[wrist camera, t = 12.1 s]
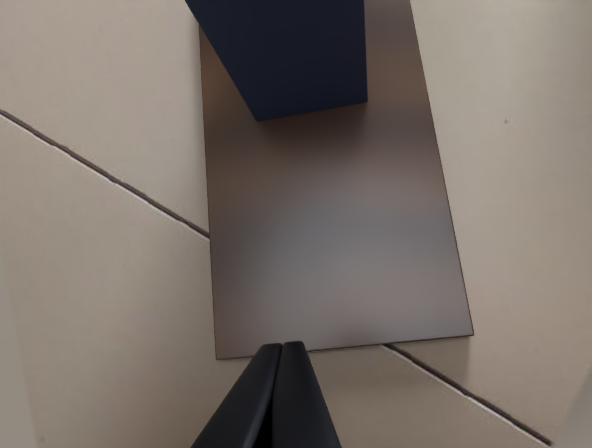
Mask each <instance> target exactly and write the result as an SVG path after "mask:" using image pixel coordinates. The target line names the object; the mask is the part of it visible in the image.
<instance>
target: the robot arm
mask: <svg viewBox="0 0 592 448" xmlns="http://www.w3.org/2000/svg"><path fill="white" fill-rule="evenodd" d="M191 448H341V445H340V442H339V439H338V436H337V434H336V431H335V428H334V425H333V423H332V420H331V417H330V414H329V411H328V409H327V406H326V403H325V400H324V398H323V395H322V392H321V389H320V386H319V384H318V381H317V378H316V375H315V373H314V370H313V367H312V364H311V362H310V359H309V356H308V353H307V350H306V348H305V345H304V343H303V341H290V342H285V343H284V344H282V343H270V344H264V345H262V346H261V347H260V348H259V350H258V351H257V353H256V354H255V355H254V357H253V358H252V360H251V361H250V363H249V364H248V365H247V367H246V368H245V370H244V371H243V373H242V374H241V376H240V377H239V378H238V380H237V381H236V383H235V384H234V386H233V387H232V389H231V390H230V391H229V393H228V394H227V396H226V397H225V399H224V400H223V401H222V403H221V404H220V406H219V407H218V409H217V410H216V412H215V413H214V414H213V416H212V417H211V419H210V420H209V422H208V423H207V425H206V426H205V427H204V429H203V430H202V432H201V433H200V435H199V436H198V437H197V439H196V440H195V442H194V443H193V445H192V446H191Z"/></svg>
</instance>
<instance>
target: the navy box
mask: <svg viewBox="0 0 592 448" xmlns="http://www.w3.org/2000/svg"><path fill="white" fill-rule="evenodd" d="M185 2H186V3H187V5H188V7H189V8H190V10H191V12H192V13H193V15H194V17H195V18H196V20H197V22H198V23H199V25H200V27H201V29H202V30H203V32H204V34H205V35H206V37H207V39H208V40H209V42H210V44H211V45H212V47H213V49H214V51H215V52H216V54H217V56H218V57H219V59H220V61H221V62H222V64H223V66H224V67H225V69H226V71H227V72H228V74H229V76H230V78H231V79H232V81H233V83H234V84H235V86H236V88H237V89H238V91H239V93H240V94H241V96H242V98H243V100H244V101H245V103H246V105H247V106H248V108H249V110H250V111H251V113H252V115H253V116H254V118H255V120H256V121H263V120H268V119H274V118H280V117H285V116H291V115H296V114H302V113H307V112H313V111H319V110H324V109H330V108H335V107H341V106H347V105H352V104H358V103H363V102H368V85H367V57H366V28H365V0H185Z"/></svg>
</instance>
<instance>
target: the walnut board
mask: <svg viewBox="0 0 592 448" xmlns="http://www.w3.org/2000/svg"><path fill="white" fill-rule="evenodd" d="M365 28H366V57H367V85H368V102H363V103H358V104H352V105H347V106H341V107H335V108H330V109H324V110H319V111H313V112H307V113H302V114H296V115H291V116H285V117H280V118H274V119H268V120H263V121H256V120H255V118H254V116H253V115H252V113H251V111H250V110H249V108H248V106H247V105H246V103H245V101H244V100H243V98H242V96H241V94H240V93H239V91H238V89H237V88H236V86H235V84H234V83H233V81H232V79H231V78H230V76H229V74H228V72H227V71H226V69H225V67H224V66H223V64H222V62H221V61H220V59H219V57H218V56H217V54H216V52H215V51H214V49H213V47H212V45H211V44H210V42H209V40H208V39H207V37H206V35H205V34H204V32H203V30H202V29H201V27H200V25H199V42H200V61H201V81H202V100H203V119H204V139H205V158H206V177H207V197H208V216H209V236H210V255H211V274H212V294H213V313H214V333H215V352H216V360H223V359H233V358H244V357H254V355H255V354H256V353H257V351H258V350H259V348H260V347H261V346H262V345H264V344H270V343H282V344H284V343H285V342H290V341H303V343H304V345H305V348H306V350H307V351H318V350H328V349H339V348H350V347H360V346H371V345H381V344H392V343H402V342H413V341H424V340H434V339H445V338H455V337H466V336H474V330H473V325H472V320H471V315H470V310H469V304H468V299H467V294H466V289H465V284H464V279H463V273H462V268H461V263H460V258H459V253H458V247H457V242H456V237H455V232H454V227H453V222H452V216H451V211H450V206H449V201H448V196H447V191H446V185H445V180H444V175H443V170H442V165H441V159H440V154H439V149H438V144H437V139H436V134H435V128H434V123H433V118H432V113H431V108H430V102H429V97H428V92H427V87H426V82H425V77H424V71H423V66H422V61H421V56H420V51H419V46H418V40H417V35H416V30H415V25H414V20H413V14H412V9H411V4H410V0H365Z"/></svg>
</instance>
